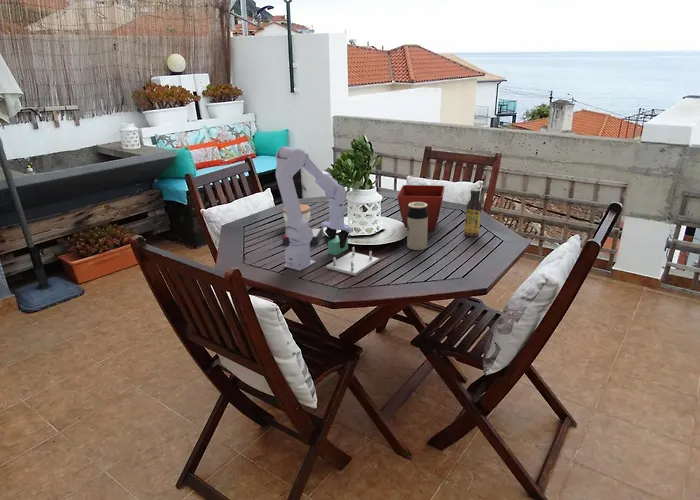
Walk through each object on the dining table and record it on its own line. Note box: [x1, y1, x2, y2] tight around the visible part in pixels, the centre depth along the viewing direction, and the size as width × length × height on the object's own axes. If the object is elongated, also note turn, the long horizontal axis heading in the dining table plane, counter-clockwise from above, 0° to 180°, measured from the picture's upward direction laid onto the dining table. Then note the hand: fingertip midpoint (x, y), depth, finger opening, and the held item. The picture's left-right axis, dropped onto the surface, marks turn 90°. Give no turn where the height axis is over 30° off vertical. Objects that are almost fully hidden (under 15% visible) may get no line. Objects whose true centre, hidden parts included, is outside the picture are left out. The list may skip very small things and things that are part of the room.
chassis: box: [325, 246, 380, 276], centre depth 181 cm, size 16×13×4 cm
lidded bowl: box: [282, 203, 311, 224], centre depth 224 cm, size 13×13×11 cm
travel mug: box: [406, 202, 428, 251], centre depth 193 cm, size 8×8×18 cm
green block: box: [327, 235, 349, 256], centre depth 194 cm, size 8×4×5 cm, turn 144°
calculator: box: [282, 228, 324, 246], centre depth 208 cm, size 11×4×15 cm
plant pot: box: [397, 184, 445, 232], centre depth 217 cm, size 19×19×17 cm
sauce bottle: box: [463, 188, 482, 237], centre depth 204 cm, size 7×6×20 cm
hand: (338, 246), depth 195 cm, fingers closed on green block, 4 cm apart
